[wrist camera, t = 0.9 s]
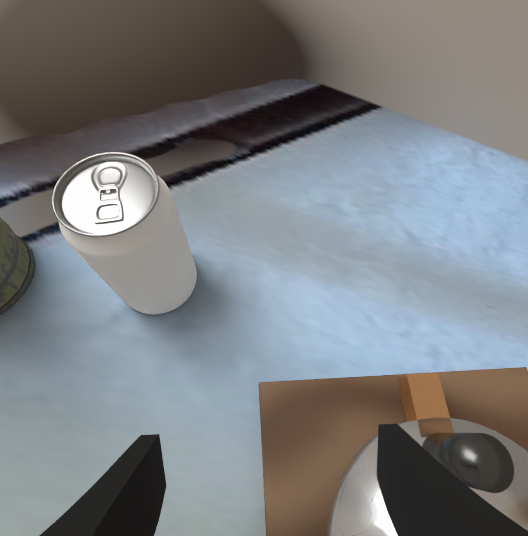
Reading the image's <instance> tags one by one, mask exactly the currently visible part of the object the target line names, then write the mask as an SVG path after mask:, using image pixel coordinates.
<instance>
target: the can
mask: <svg viewBox="0 0 528 536" xmlns="http://www.w3.org/2000/svg"><path fill="white" fill-rule="evenodd" d="M52 208H53V211H54V214H55V216H56V218H57V219H58V221H59V226H60V230H61V232H62V234H63V236H64V238H65V239H66V240H67V242H68V243H69V244H70V245H71V247H72V248H73V249H74V250H75V251H76V252H77V253H78V254H79V255H80V256H81V257H82V258H83V259H84V260H85V261H86V262H87V264H88V265H89V266H90V267H91V268H92V269H93V270H94V271H95V272H96V273H97V274H98V275H99V276H100V277H101V278H102V279H103V280H104V281H105V282H106V283H107V284H108V285H109V286H110V287H111V288H112V289H113V290H114V291H115V292H116V293H117V294H118V295H119V296H120V297H121V298H122V299H123V300H124V301H125V302H126V303H127V304H128V305H129V306H130V307H132V308H133V309H135V310H136V311H139V312H141V313H145V314H163V313H167V312H170V311H172V310H174V309H176V308H178V307H179V306H181V305H182V304H183V303H184V302H185V301H186V300H187V299H188V298H189V297H190V295H191V294H192V292H193V290H194V288H195V285H196V280H197V271H196V266H195V263H194V260H193V257H192V253H191V250H190V247H189V244H188V241H187V238H186V235H185V232H184V229H183V226H182V223H181V220H180V217H179V214H178V211H177V208H176V206H175V203H174V200H173V197H172V195H171V192H170V190H169V188H168V187H167V185H166V184H165V182H164V181H163V180H162V179H161V178H160V177H159V176H158V175H157V174H156V173H155V171H154V169H153V168H152V167H151V166H150V165H149V164H148V163H147V162H146V161H144V160H143V159H141V158H139V157H137V156H135V155H131V154H128V153H122V152H107V153H100V154H96V155H93V156H90V157H87V158H85V159H83V160H81V161H79V162H77V163H76V164H74V165H73V166H71V167H70V168H69V169H68V170H67V171H66V172H65V173H64V174H63V175H62V176H61V177H60V179H59V180H58V182H57V183H56V185H55V188H54V190H53V194H52Z"/></svg>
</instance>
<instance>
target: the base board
mask: <svg viewBox="0 0 528 536" xmlns="http://www.w3.org/2000/svg"><path fill="white" fill-rule="evenodd" d="M435 373H438V374H439V378H440V382H441V386H442V389H443V393H444V397H445V401H446V404H447V408H448V412H449V415H450V418H454V419H461V420H466V421H470V422H473V423H477V424H480V425H482V426H485V427H487V428H489V429H492V430H494V431H496V432H498V433H500V434H502V435H503V436H505V437H507V438H509V439H511V440H512V441H514V442H515V443H516V444H518V445H519V446H521V447H522V448H523V449H525V450H526V451H527V452H528V371H527V368H526V367H522V368H504V369H487V370H470V371H452V372H435ZM417 374H423V373H417ZM404 375H407V374H400V375H382V376H365V377H347V378H330V379H313V380H295V381H278V382H260V383H259V398H260V418H261V438H262V458H263V478H264V498H265V518H266V536H327V525H328V518H329V512H330V507H331V504H332V500H333V496H334V493H335V490H336V488H337V485H338V483H339V480H340V478H341V475H342V474H343V472H344V470H345V469H346V467H347V465H348V463H349V462H350V460H351V459H352V458H353V456H354V455H355V454H356V453H357V451H358V450H359V449H360V448H361V447H362V446H363V445H364V444H365V443H366V442H367V441H368V440H369V439H370V438H372V437H373V436H375V435H376V434H378V426H379V424H397V423H401V422H404V421H407V420H406V416H405V411H404V406H403V402H402V397H401V393H400V388H399V383H398V379H397V378H398V377H401V376H404Z"/></svg>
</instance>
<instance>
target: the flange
mask: <svg viewBox="0 0 528 536" xmlns="http://www.w3.org/2000/svg"><path fill="white" fill-rule="evenodd" d="M397 379H398V383H399V388H400V393H401V397H402V402H403V406H404V411H405V416H406V420H407V421H404V422H401V423H397V424H398V425H399V426H400V427H401V428H403V429H404V430H405V431H406V432H407V433H408V434H409V435H410V436H411V437H412V438H413V439H414V440H415V441H417V442H418V443H419V444H420V445H421V446H422V447H423V448H424V449H425V450H426V451H427V452H428V453H430V454H431V455H432V456H433V457H434V458H435V459H436V460H437V461H438V462H440V463H441V464H442V465H443V466H444V467H445V468H446V469H448V470H449V471H450V472H451V473H452V474H453V475H455V476H456V477H457V478H458V479H459V480H461V481H462V482H463V483H464V484H465V485H467V486H468V487H469V488H470V489H472V490H473V491H474V492H475V493H477V494H478V495H479V496H480V497H482V498H483V499H484V500H486V501H487V502H488V503H489V504H491V505H492V506H493V507H495V508H496V509H497V510H499V511H500V512H502V513H503V514H504V515H506V516H507V517H509V518H510V519H512V520H513V521H514V522H516V523H517V524H519V525H520V526H521V527H523V528H524V529H526V530H527V531H528V452H527V451H526V450H525V449H523V448H522V447H521V446H519V445H518V444H516V443H515V442H514V441H512V440H511V439H509V438H507V437H505V436H503V435H502V434H500V433H498V432H496V431H494V430H492V429H489V428H487V427H485V426H482V425H480V424H477V423H473V422H470V421H466V420H461V419H454V418H450V415H449V412H448V408H447V404H446V401H445V397H444V393H443V389H442V386H441V382H440V378H439V374H438V373H423V374H407V375H404V376H401V377H398V378H397ZM377 450H378V434H376V435H375V436H373V437H372V438H370V439H369V440H368V441H367V442H366V443H365V444H364V445H363V446H362V447H361V448H360V449H359V450H358V451H357V453H356V454H355V455H354V456H353V458H352V459H351V460H350V462H349V463H348V465H347V467H346V469H345V470H344V472H343V474H342V475H341V478H340V480H339V483H338V485H337V488H336V490H335V493H334V496H333V500H332V504H331V507H330V512H329V518H328V525H327V536H397V534H396V531H395V529H394V527H393V524H392V522H391V519H390V517H389V515H388V512H387V509H386V506H385V503H384V500H383V497H382V493H381V490H380V487H379V483H378V480H377V476H376V475H377Z"/></svg>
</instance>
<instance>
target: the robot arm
mask: <svg viewBox="0 0 528 536" xmlns="http://www.w3.org/2000/svg"><path fill="white" fill-rule="evenodd" d="M376 476H377V480H378V483H379V487H380V490H381V493H382V497H383V500H384V503H385V506H386V509H387V512H388V515H389V517H390V519H391V522H392V524H393V527H394V529H395V531H396V534H397V536H528V531H527V530H526V529H524V528H523V527H521V526H520V525H519V524H517V523H516V522H514V521H513V520H512V519H510V518H509V517H507V516H506V515H504V514H503V513H502V512H500V511H499V510H497V509H496V508H495V507H493V506H492V505H491V504H489V503H488V502H487V501H486V500H484V499H483V498H482V497H480V496H479V495H478V494H477V493H475V492H474V491H473V490H472V489H470V488H469V487H468V486H467V485H465V484H464V483H463V482H462V481H461V480H459V479H458V478H457V477H456V476H455V475H453V474H452V473H451V472H450V471H449V470H448V469H446V468H445V467H444V466H443V465H442V464H441V463H440V462H438V461H437V460H436V459H435V458H434V457H433V456H432V455H431V454H430V453H428V452H427V451H426V450H425V449H424V448H423V447H422V446H421V445H420V444H419V443H418V442H417V441H415V440H414V439H413V438H412V437H411V436H410V435H409V434H408V433H407V432H406V431H405V430H404V429H403V428H401V427H400V426H399V425H398V424H379V426H378V450H377V475H376ZM165 489H166V480H165V473H164V466H163V459H162V451H161V444H160V437H159V434H157V435H141V436H140V437H139V438H138V439H137V440H136V441H135V442H134V443H133V444H132V445H131V446H130V447H129V448H128V449H127V450H126V451H125V452H124V453H123V455H122V456H121V457H120V458H119V459H118V460H117V461H116V462H115V463H114V464H113V465H112V466H111V467H110V468H109V470H108V471H107V472H106V473H105V474H104V475H103V476H102V477H101V478H100V479H99V480H98V481H97V482H96V483H95V484H94V485H93V486H92V487H91V488H90V489H89V490H88V491H87V492H86V493H85V494H84V495H83V496H82V497H81V498H80V499H79V500H78V501H77V502H76V503H75V504H74V505H73V506H72V507H71V508H70V509H69V510H68V511H66V512H65V513H64V514H63V515H62V516H61V517H60V518H59V519H58V520H57V521H56V522H55V523H53V524H52V525H51V526H50V527H49V528H48V529H47V530H45V531H44V532H43V533H42V534H41V535H40V536H154V533H155V530H156V527H157V524H158V521H159V517H160V512H161V508H162V504H163V499H164V494H165Z"/></svg>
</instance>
